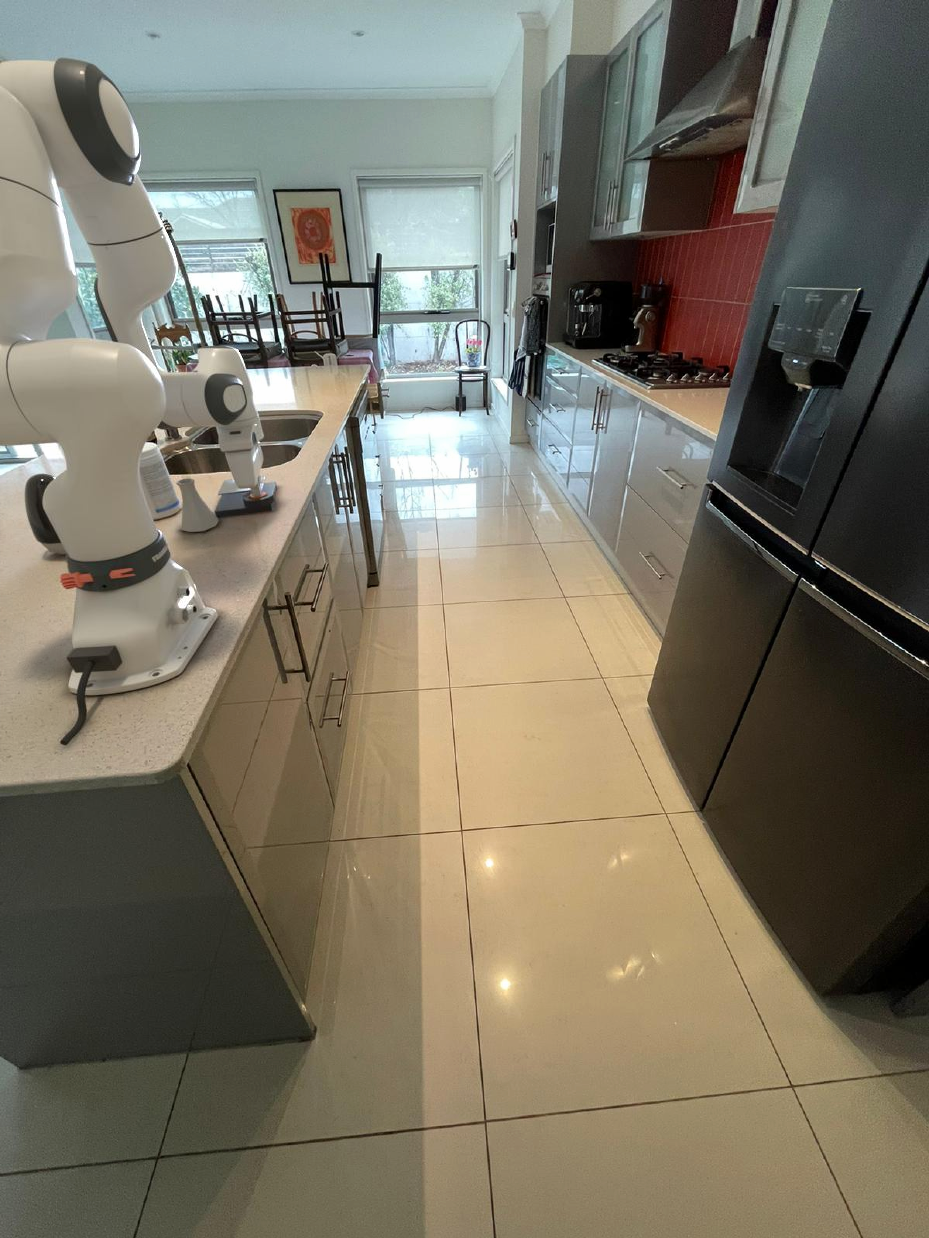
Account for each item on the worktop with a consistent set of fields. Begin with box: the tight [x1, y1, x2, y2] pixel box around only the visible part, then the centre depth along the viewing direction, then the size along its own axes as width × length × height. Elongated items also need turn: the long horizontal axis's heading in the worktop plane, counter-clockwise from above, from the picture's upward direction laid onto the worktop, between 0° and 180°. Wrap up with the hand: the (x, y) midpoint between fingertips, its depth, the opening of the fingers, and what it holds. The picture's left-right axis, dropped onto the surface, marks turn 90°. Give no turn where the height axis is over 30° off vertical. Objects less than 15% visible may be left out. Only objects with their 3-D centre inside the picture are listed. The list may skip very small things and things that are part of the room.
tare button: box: [250, 492, 267, 499], centre depth 117 cm, size 4×4×2 cm
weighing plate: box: [217, 475, 266, 496], centre depth 122 cm, size 10×10×1 cm
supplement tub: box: [140, 441, 182, 521], centre depth 113 cm, size 10×10×15 cm
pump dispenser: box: [24, 473, 67, 555], centre depth 99 cm, size 10×10×15 cm
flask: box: [176, 477, 220, 533], centre depth 108 cm, size 7×7×10 cm
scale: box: [214, 481, 278, 518], centre depth 121 cm, size 16×13×3 cm
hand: (257, 494), depth 116 cm, fingers closed, pressing on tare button
